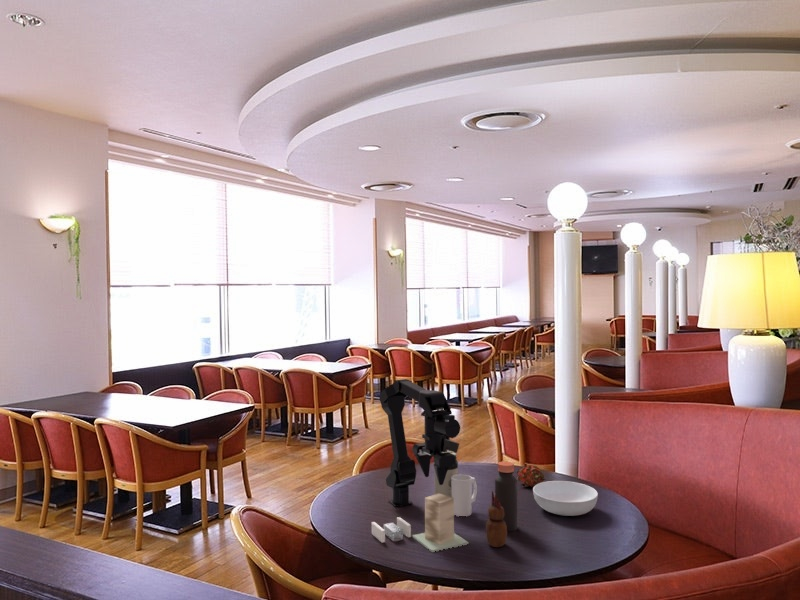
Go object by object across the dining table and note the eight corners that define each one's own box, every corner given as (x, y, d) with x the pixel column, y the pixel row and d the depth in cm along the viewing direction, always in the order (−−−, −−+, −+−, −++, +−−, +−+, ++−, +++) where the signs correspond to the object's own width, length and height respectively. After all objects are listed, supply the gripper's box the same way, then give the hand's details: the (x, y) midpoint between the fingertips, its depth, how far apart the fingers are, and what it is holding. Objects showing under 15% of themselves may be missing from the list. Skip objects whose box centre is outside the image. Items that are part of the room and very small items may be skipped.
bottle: (499, 533, 188) (499, 467, 188) (492, 524, 195) (491, 461, 195) (520, 531, 190) (520, 465, 189) (512, 522, 196) (512, 459, 196)
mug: (460, 518, 200) (460, 481, 200) (447, 512, 206) (446, 476, 205) (483, 512, 206) (483, 476, 206) (470, 506, 211) (469, 471, 211)
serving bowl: (520, 512, 206) (520, 491, 206) (552, 496, 221) (552, 476, 221) (579, 528, 192) (579, 506, 192) (609, 510, 207) (609, 489, 207)
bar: (383, 534, 189) (383, 524, 189) (392, 532, 190) (392, 522, 190) (393, 542, 183) (393, 532, 183) (402, 540, 184) (402, 530, 184)
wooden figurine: (484, 540, 183) (483, 489, 183) (503, 539, 183) (503, 489, 183) (489, 550, 176) (488, 497, 176) (509, 549, 177) (509, 496, 176)
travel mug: (430, 503, 215) (430, 451, 215) (451, 499, 218) (450, 448, 218) (441, 510, 208) (440, 456, 207) (462, 507, 211) (461, 454, 210)
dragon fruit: (543, 495, 227) (518, 491, 236) (554, 477, 231) (529, 474, 241) (532, 478, 224) (507, 475, 234) (542, 461, 229) (518, 459, 238)
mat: (412, 537, 186) (412, 535, 186) (447, 529, 191) (447, 528, 191) (432, 552, 175) (432, 550, 175) (468, 544, 180) (468, 542, 180)
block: (425, 538, 183) (424, 497, 183) (439, 532, 187) (438, 493, 187) (440, 544, 179) (439, 502, 179) (454, 538, 183) (453, 498, 183)
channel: (371, 533, 188) (371, 522, 188) (399, 528, 193) (399, 516, 193) (381, 542, 182) (381, 530, 182) (410, 536, 186) (410, 525, 186)
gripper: (471, 435, 193) (471, 485, 193) (440, 423, 209) (441, 469, 210) (439, 439, 188) (440, 490, 188) (411, 427, 205) (411, 474, 205)
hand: (433, 480), depth 198 cm, fingers open, 9 cm apart
